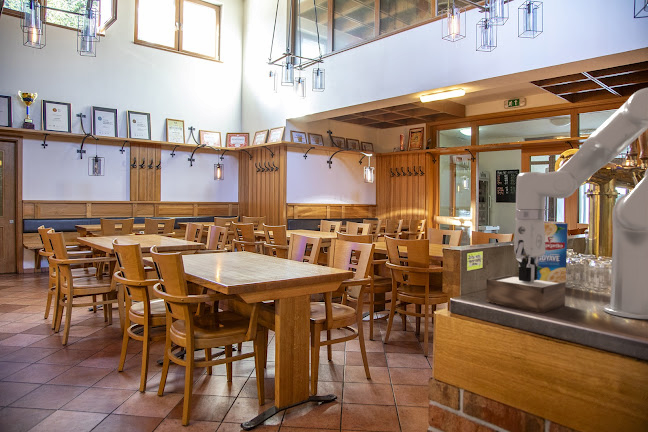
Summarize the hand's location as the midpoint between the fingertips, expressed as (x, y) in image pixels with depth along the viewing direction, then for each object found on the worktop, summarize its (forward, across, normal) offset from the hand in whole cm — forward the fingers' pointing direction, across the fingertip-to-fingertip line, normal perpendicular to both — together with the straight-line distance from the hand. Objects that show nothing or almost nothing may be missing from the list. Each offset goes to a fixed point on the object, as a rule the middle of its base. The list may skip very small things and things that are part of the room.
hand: (527, 279), depth 130 cm
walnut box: (+7, -1, 0) cm, 7 cm away
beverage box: (+7, +31, +8) cm, 33 cm away
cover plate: (+2, 0, 0) cm, 2 cm away
